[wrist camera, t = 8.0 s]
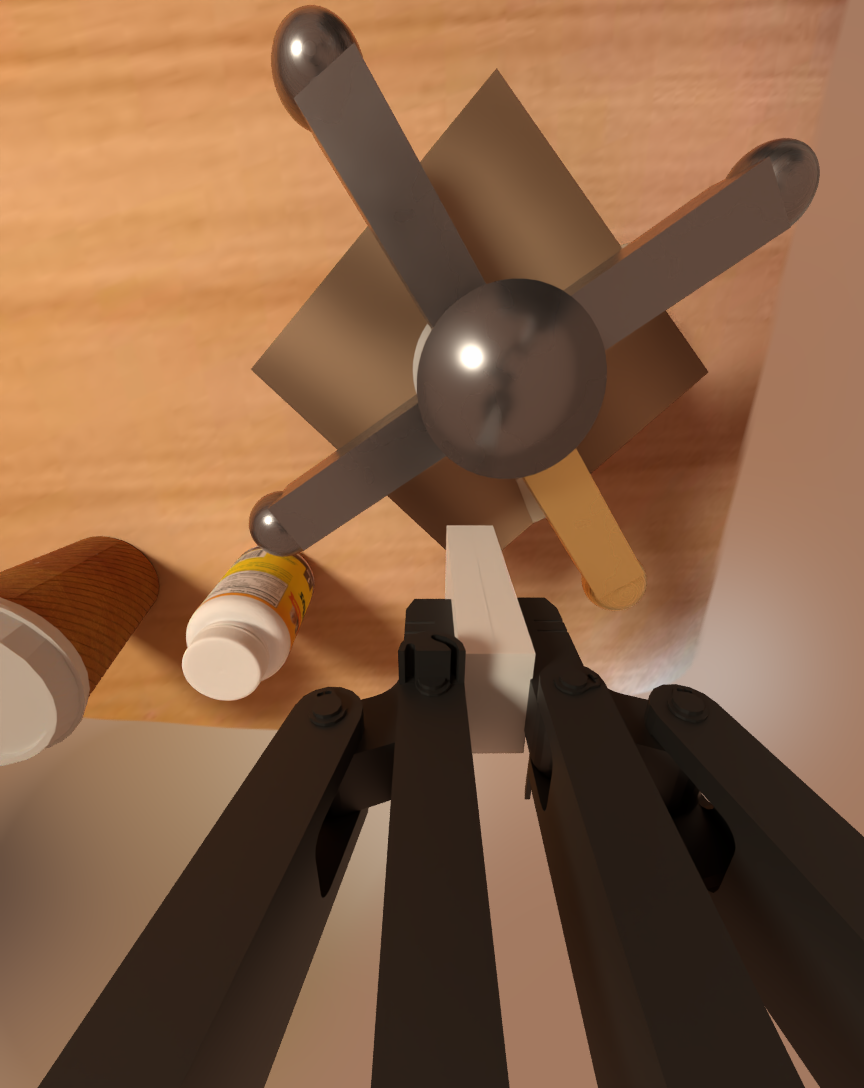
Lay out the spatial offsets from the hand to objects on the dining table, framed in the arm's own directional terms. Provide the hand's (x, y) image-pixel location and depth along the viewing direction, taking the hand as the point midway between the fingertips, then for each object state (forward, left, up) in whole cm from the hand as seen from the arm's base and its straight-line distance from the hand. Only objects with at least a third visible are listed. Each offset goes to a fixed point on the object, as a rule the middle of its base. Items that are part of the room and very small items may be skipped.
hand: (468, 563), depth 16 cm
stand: (-5, -3, -16) cm, 17 cm away
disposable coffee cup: (+22, -10, -16) cm, 29 cm away
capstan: (-5, -3, -7) cm, 9 cm away
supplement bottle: (+14, -2, -16) cm, 21 cm away
